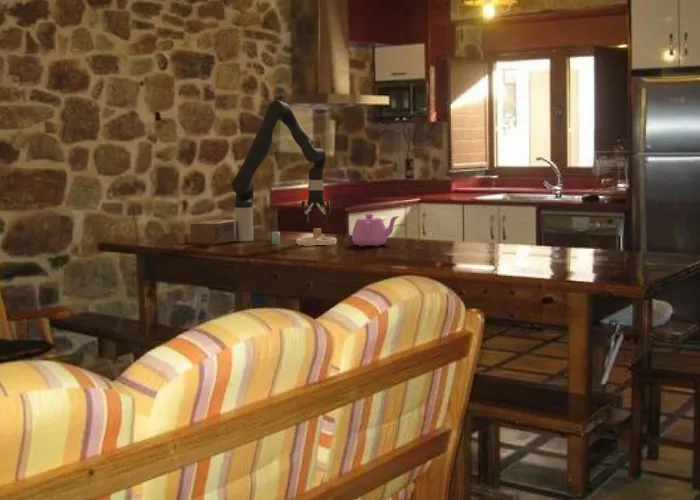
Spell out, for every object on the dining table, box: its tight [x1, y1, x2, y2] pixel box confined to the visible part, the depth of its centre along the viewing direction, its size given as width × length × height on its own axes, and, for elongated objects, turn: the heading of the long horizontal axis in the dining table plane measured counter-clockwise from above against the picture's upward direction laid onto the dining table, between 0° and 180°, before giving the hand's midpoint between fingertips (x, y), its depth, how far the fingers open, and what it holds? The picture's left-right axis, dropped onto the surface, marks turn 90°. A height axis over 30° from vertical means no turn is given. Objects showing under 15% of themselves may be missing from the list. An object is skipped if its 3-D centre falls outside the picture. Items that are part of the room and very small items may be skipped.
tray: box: [296, 236, 338, 247], centre depth 459 cm, size 19×19×2 cm
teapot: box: [351, 213, 400, 247], centre depth 445 cm, size 23×21×15 cm
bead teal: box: [271, 231, 281, 246], centre depth 460 cm, size 4×4×6 cm
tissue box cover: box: [189, 219, 235, 244], centre depth 484 cm, size 26×14×10 cm, turn 152°
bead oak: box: [312, 227, 322, 238], centre depth 464 cm, size 4×4×6 cm
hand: (315, 221), depth 463 cm, fingers open, 8 cm apart
